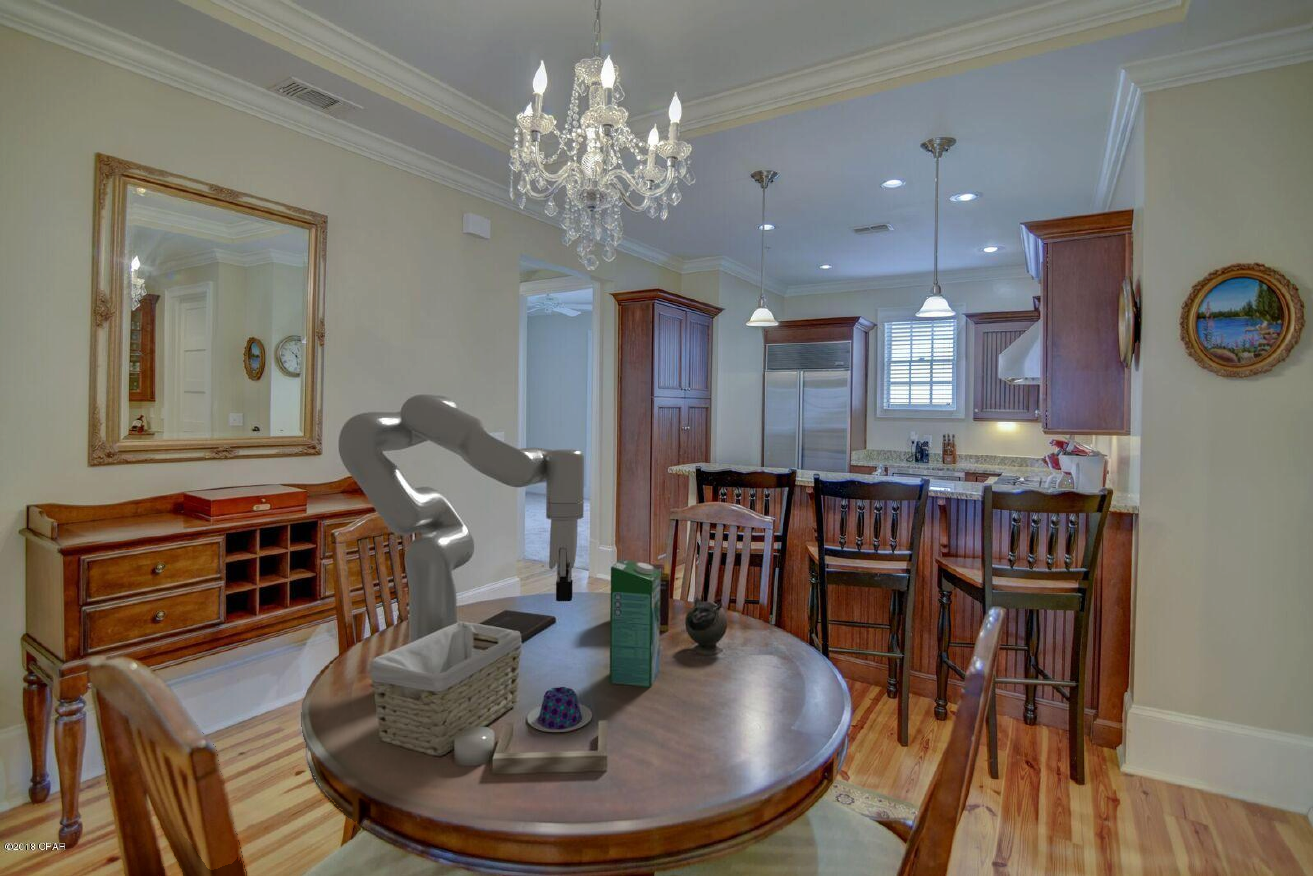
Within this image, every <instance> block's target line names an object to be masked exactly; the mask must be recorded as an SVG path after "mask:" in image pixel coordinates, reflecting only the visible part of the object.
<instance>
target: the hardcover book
mask: <svg viewBox="0 0 1313 876" xmlns="http://www.w3.org/2000/svg"><path fill="white" fill-rule="evenodd" d="M556 623H557V618H556V617H555V616H554V615H547V614H541V613H540V614H538V613H534V612H533V613H532V612H525V611H524V612H523V611H516V610H510V609H509V610H508V609H504V610H503V611H500V612H499V613H497V614H495V615H493V616H491V617H489V618H487V619H485V620H483V621H481V622H479V623H478V624H481V625H487V626H493V627H498V628H504V629H509V630H513V631H519V632H520V634H521V643H522V644H521V645H523V644H525V643H526V642H528V641H529V640H530V639H532V638H534V637H536V636H537V635H538V634H541V633H542V632H543V631H545V630H547V629H548V628H550V627H551V626H553V625H555V624H556ZM473 639H474V646H473V647H475V646H476V647H480V648H487V649H488V648H490V647H492V646H494V645H496V644H498V642H497V641H491V640H490V641H489V640H486V639H479V638H476V637H475V638H473Z"/></svg>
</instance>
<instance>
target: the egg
mask: <svg viewBox="0 0 1313 876" xmlns="http://www.w3.org/2000/svg"><path fill="white" fill-rule="evenodd" d="M453 753H454V754H453V759H454V762H455V763H456V764H457V765H459V766H461V767H476V766H477V767H478V766H480V765H484V764H486V763H488V762H489V761H491V760H493V756H494V753H495V731H494V730H493V729H491V728H490V727H487V726H484V727H479V726H478V727H470V728H466V729H464V730H461V731H460V732H458V733H457V734H456V735H455V737H454V749H453Z"/></svg>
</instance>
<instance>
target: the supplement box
mask: <svg viewBox="0 0 1313 876" xmlns="http://www.w3.org/2000/svg"><path fill="white" fill-rule="evenodd" d="M648 564H649V563H648ZM649 565H651V566H653V567H654V568H655V569H658V570H661V579H660V632H668V631H669V623H670V621H669V619H670V618H669V617H670V588H671V587H670V583H671V581H670V579H671V578H670V577H671V575H670V574H671V573H670V572H671V571H670V564H649Z"/></svg>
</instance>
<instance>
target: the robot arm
mask: <svg viewBox="0 0 1313 876" xmlns="http://www.w3.org/2000/svg"><path fill="white" fill-rule="evenodd" d="M484 426H485V425H484V424H483V422H482V420H481V419H479V418H477V417H476V416H474V415H471V414H469V413H466V412H464V411H463V410H461V409H460V408H459V406H458V405H457V403H455V402H454V400H452V399H451V398H449V397H447V396H443V395H436V394H435V395H434V394H433V395H432V394H416V395H414V396H411V397H409V398H408V399H406V401H405V402H404V403H403V404H402V406H401V408H400V411H397V412H384V411H383V412H381V411H379V412H377V411H371V412H370V411H369V412H362V413H358V414H356V415H353V416H352V417H350V418H349V419H347V420H346V422H345V423H344V425H343V426H342V428H341V430H340V433H339V437H338V453H339V457H340V460H341V462H342V464H343V466H344V468H345V469H346V470H347V472H348V473H349V474H350V475H351V477H352V478H353V480H355V482H356V484H357V485H358V486H359V488H360V489H361V490H362V491H363V493H364V495H365V496H366V498H367V500H368V501H369V503H370V504H371V505H372V507H373V508H374V510H375V512H376V513H377V514H378V516H379V517H380V518H381V520H382V521H383V523H384V525H385V526H386V527H387V529H388V530H389V531H390V532H391V533H393V534H395V535H397V536H408V535H409V536H410V535H413V534H415V533H419V532H420V533H421V534H420V535H419V536H417V537H416V538H415V539H413V540H412V541H411V542H410V543H409V545H408V546H407V548H406V551H405V554H404V568H405V572H406V578H407V584H408V604H409V605H408V612H409V613H408V616H409V617H408V619H409V624H408V626H409V630H408V631H409V633H408V635H409V636H408V638H409V639H408V640H409V641H408V644H409V643H412V642H414V641H416V640H418V639H421V638H423V637H425V636H427V635H429V634H432V633H434V632H436V631H438V630H441V629H443V628H446V627H448V626H451V625H453V624H455V623H457V622H458V621H457V618H458V615H457V614H458V613H457V611H458V605H457V603H458V602H457V600H458V599H457V598H458V597H457V587H456V584H455V581H454V578H453V573H452V571H455V570H456V569H459V568H460V567H462V566H464V565H466V564H467V563H469V561H470V560H471V559H472V557H473V555H474V553H475V541H474V538H473V535H472V534H471V532H470V530H469V528H468V527H467V526H466V524H465V523H464V521H463V520H462V518H461V517H460V516H459V514H458V513H457V511H456V509H454V507H453V506H452V504H451V503H450V501H449V500H448V498H446V496H445V495H444V494H443V493H442V492H440V491H439V490H438V489H435V488H433V487H429V486H420V487H414V486H412V484H411V483H410V482H409V480H408V479H407V478H406V477H405V475H404V474H403V471H401V469H400V468H399V467H398V466H397V464H395V463H394V462H393V460H390V458H388V457H387V456H386V455H385V454H384V453H383V452H390V451H399V450H405V449H407V448H411V447H414V446H417V445H419V444H422V443H424V442H431V443H433V444H436V445H438V446H440V447H441V448H444V449H445V450H448V451H450V452H452V453H455V454H456V455H458V456H460V457H461V458H462V459H463V461H464V462H466V463H467V464H468V465H469V466H471V467H472V468H473V469H474V470H476V471H478V472H480V473H481V474H482V475H485V476H486V477H489V478H490V479H493V480H495V481H497V482H499V483H501V484H504V485H506V486H508V487H513V488H524V487H528V486H532V485H537V484H541V483H546V484H545V485H546V486H545V487H546V488H545V489H546V494H545V495H546V497H545V498H546V502H545V503H546V505H545V507H546V509H545V519H547V520H550V527H549V528H550V531H549V563H548V568H549V569H550V570H553V568H556V581H555V601H556V602H572V601H573V600H572V599H573V579H572V575H573V574H572V570H573V568H574V566H575V562H576V557H577V556H576V555H577V547H578V520H581V519H584V508H585V507H584V503H585V502H584V498H585V497H584V493H585V492H584V489H585V488H584V487H585V485H584V483H585V482H584V481H585V478H584V477H585V476H584V475H585V458H584V457H585V456H584V454H583V452H582V451H581V450H577V449H547V448H541V447H523V448H517V447H515V446H513V445H510V444H508V443H505V442H503V441H502V440H500V439H498V438H496V437H494V436H492V435H491V434H490V433H488V432H487V431H486V430H485V428H484Z"/></svg>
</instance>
